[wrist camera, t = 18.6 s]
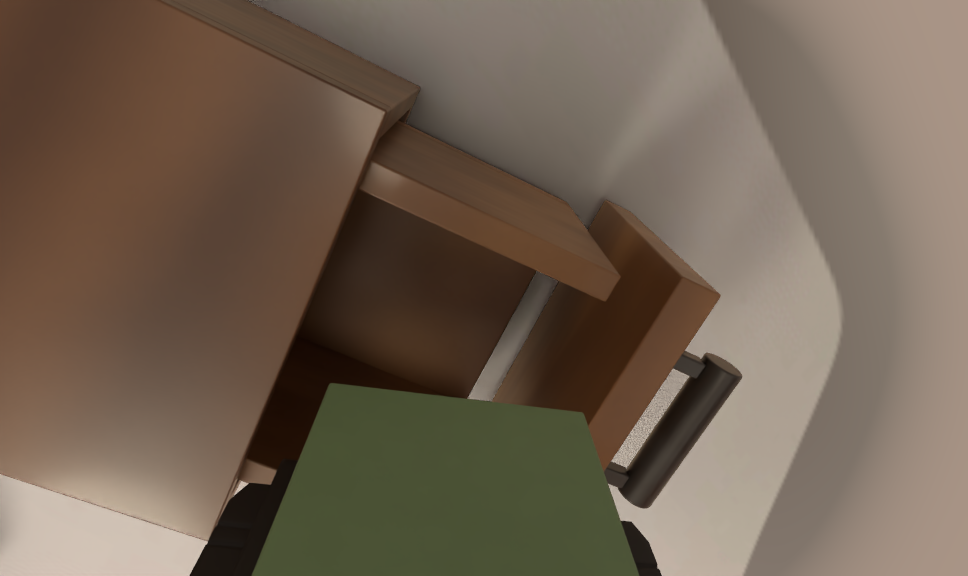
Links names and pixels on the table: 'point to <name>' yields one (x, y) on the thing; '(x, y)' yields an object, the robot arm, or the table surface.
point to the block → (445, 492)
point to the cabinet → (165, 236)
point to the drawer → (499, 311)
